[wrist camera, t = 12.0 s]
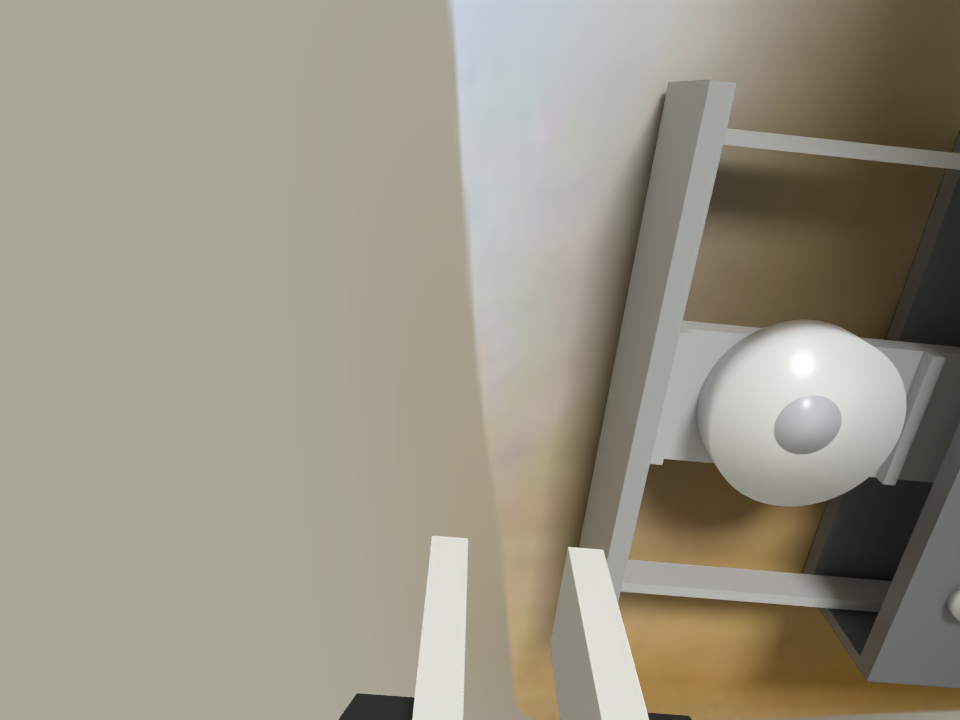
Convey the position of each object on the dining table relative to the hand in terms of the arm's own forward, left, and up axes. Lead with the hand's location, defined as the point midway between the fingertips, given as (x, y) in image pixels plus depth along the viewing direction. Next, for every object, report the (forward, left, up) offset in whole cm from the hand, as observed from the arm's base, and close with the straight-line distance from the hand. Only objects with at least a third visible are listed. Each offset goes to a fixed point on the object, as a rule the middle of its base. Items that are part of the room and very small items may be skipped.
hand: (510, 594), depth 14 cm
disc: (+7, +9, -11) cm, 16 cm away
